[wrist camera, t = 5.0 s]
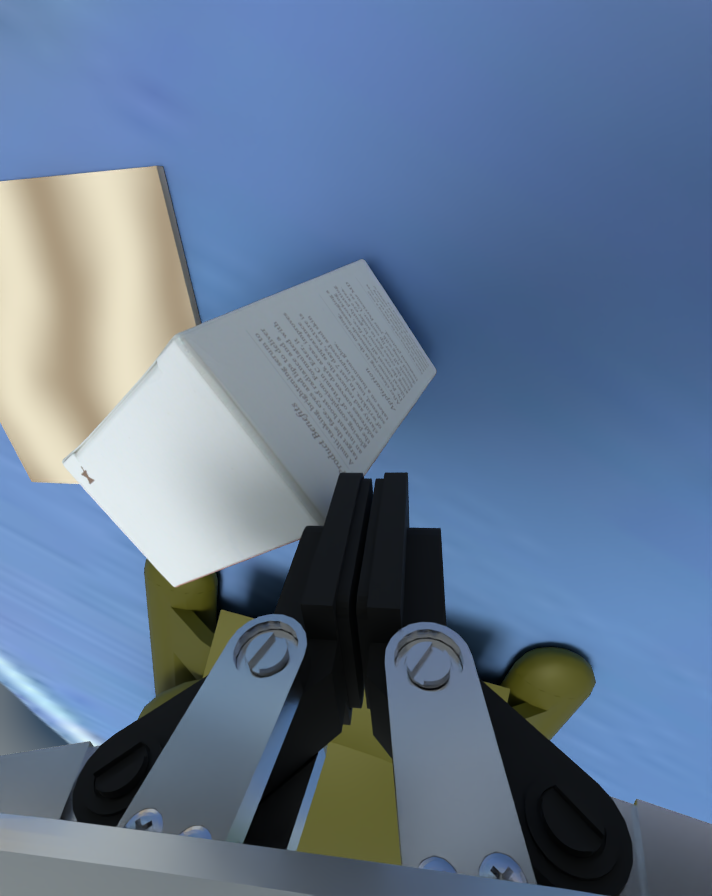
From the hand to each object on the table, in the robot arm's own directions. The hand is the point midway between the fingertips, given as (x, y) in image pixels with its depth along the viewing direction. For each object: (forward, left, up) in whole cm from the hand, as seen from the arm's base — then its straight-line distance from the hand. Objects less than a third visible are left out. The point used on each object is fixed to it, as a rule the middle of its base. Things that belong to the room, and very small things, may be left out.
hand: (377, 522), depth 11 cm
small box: (+3, 0, -11) cm, 11 cm away
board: (+17, -1, -12) cm, 21 cm away
